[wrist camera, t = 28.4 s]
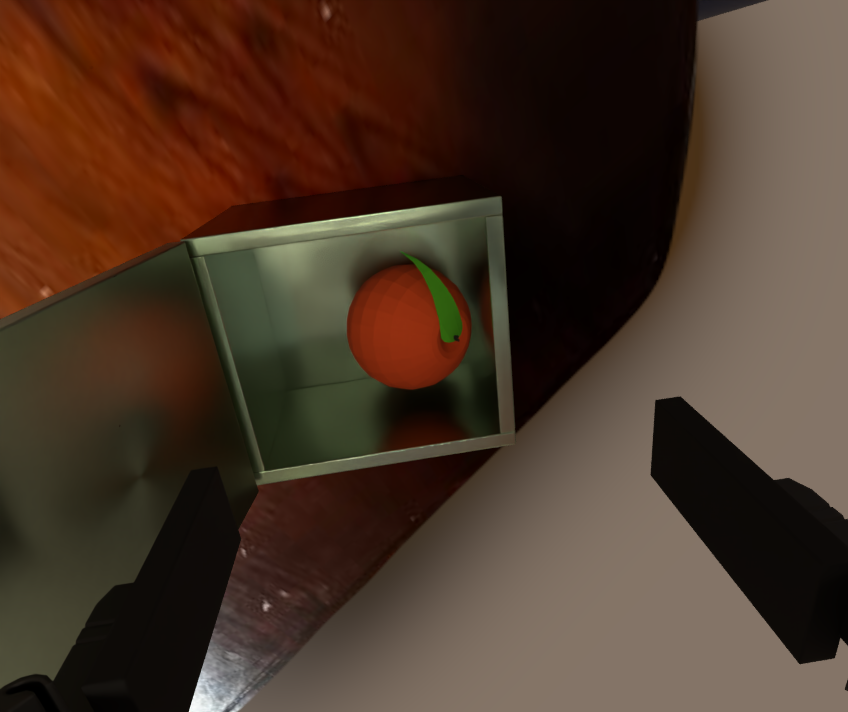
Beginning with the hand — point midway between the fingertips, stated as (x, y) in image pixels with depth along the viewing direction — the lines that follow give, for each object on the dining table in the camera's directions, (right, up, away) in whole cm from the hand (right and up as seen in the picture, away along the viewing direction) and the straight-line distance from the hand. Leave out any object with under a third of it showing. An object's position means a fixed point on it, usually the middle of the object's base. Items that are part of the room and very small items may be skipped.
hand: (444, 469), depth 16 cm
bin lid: (-10, -1, +2) cm, 10 cm away
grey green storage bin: (-4, +7, +18) cm, 20 cm away
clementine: (-4, +6, +16) cm, 18 cm away
